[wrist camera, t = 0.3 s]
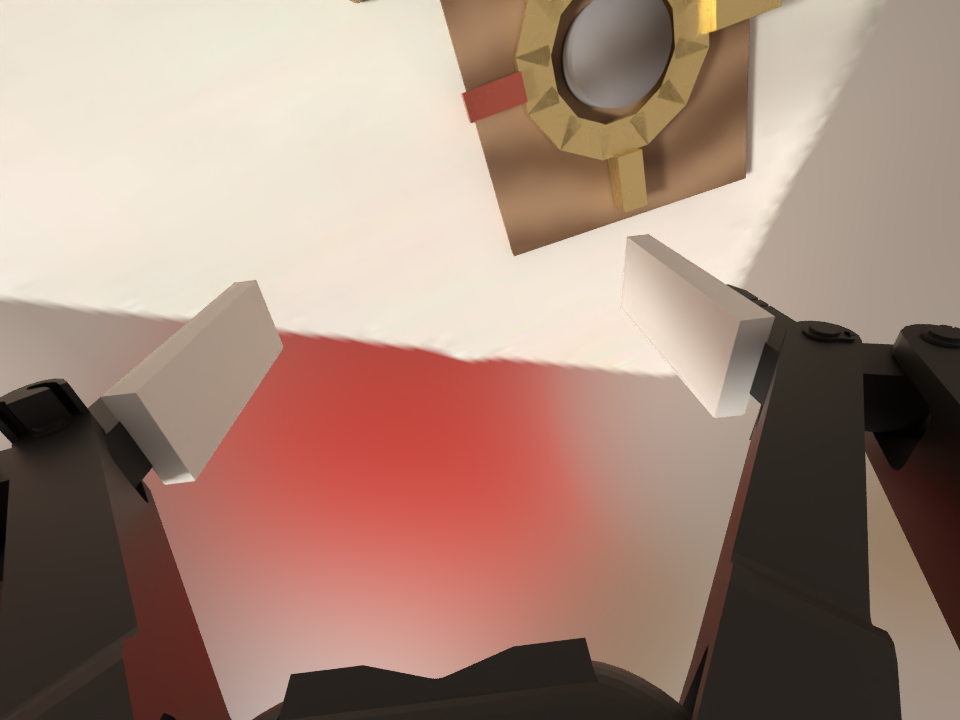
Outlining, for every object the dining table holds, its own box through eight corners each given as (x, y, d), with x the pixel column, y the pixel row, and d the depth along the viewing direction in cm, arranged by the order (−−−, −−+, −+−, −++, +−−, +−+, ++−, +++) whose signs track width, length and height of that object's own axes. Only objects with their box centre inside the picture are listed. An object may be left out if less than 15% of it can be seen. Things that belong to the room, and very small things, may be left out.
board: (406, -118, 27) (399, -157, 23) (743, -270, 25) (801, -343, 21) (512, 252, 41) (519, 268, 37) (737, 176, 39) (772, 184, 35)
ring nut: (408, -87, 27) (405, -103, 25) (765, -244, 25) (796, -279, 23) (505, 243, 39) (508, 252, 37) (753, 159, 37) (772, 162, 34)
